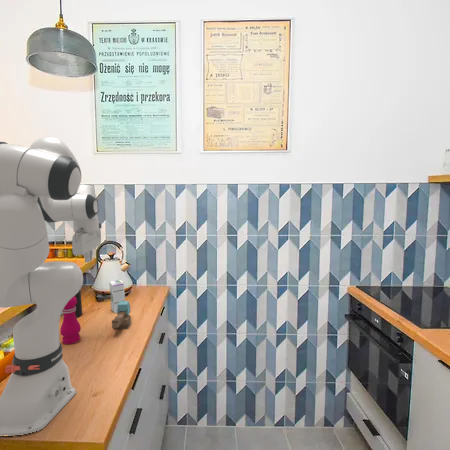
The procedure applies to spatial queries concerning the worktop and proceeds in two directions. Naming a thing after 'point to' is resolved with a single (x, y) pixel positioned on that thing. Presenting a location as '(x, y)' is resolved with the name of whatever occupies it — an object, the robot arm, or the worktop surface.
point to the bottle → (78, 304)
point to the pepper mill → (70, 323)
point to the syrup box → (116, 294)
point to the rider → (123, 307)
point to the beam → (121, 321)
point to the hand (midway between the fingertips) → (88, 261)
